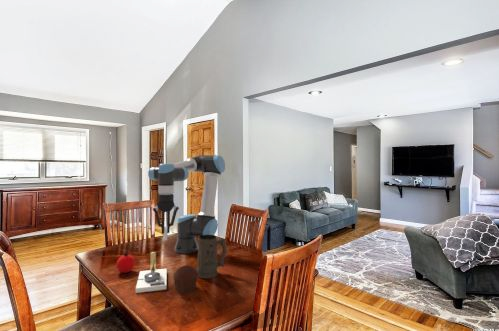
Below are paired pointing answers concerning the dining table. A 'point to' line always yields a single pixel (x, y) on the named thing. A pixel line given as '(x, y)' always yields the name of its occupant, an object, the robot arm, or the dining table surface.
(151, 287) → the stand
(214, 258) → the beer stein
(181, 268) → the muffin
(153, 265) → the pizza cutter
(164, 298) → the dining table surface
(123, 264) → the ornament
